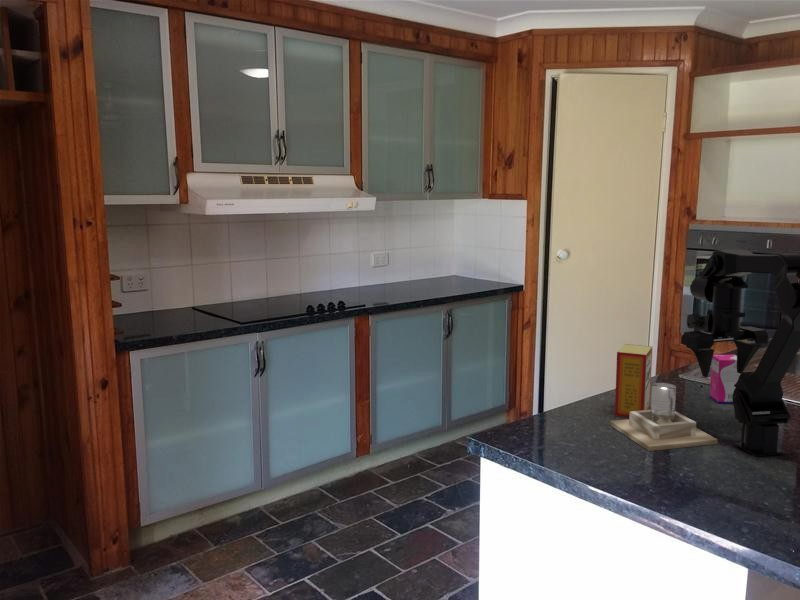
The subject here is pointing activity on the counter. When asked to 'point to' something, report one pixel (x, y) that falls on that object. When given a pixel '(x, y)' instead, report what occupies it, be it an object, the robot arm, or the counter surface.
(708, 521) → the counter surface
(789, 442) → the counter surface
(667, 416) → the aluminium peg
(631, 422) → the square peg hole base
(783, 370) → the robot arm
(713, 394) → the supplement box
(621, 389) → the baking soda box
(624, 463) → the counter surface
